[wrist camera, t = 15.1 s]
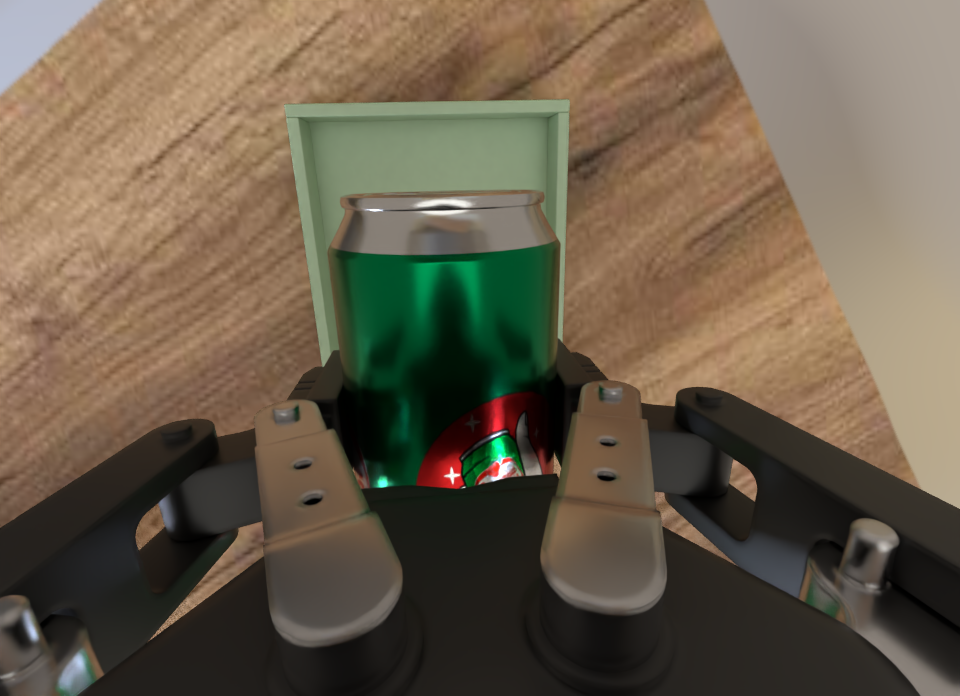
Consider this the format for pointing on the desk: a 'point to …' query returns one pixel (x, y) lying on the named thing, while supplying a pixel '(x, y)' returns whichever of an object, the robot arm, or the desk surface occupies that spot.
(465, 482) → the soda can
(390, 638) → the robot arm
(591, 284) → the desk surface
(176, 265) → the desk surface
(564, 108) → the tray
